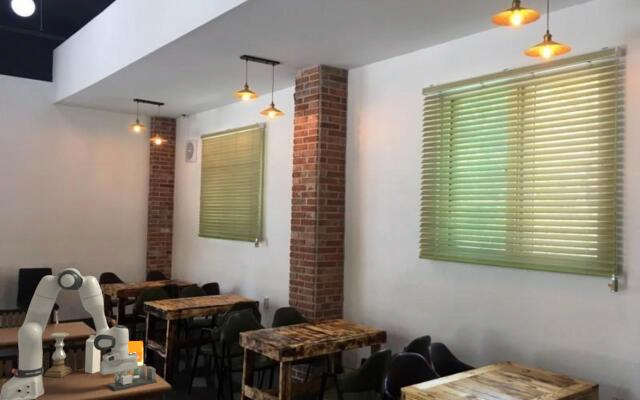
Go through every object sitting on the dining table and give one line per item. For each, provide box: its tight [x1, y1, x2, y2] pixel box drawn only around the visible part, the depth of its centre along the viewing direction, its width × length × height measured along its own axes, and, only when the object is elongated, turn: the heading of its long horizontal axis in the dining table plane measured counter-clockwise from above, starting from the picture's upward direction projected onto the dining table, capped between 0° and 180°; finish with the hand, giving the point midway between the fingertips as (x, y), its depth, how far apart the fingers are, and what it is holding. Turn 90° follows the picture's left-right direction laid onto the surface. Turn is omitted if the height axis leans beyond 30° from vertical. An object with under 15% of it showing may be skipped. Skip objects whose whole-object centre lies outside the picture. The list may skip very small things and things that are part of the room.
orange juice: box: [128, 340, 144, 366], centre depth 324 cm, size 8×9×20 cm
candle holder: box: [44, 331, 73, 378], centre depth 321 cm, size 11×11×24 cm
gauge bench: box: [107, 363, 158, 392], centre depth 306 cm, size 24×11×8 cm, turn 132°
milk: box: [84, 334, 102, 374], centre depth 328 cm, size 6×6×22 cm
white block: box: [120, 374, 139, 385], centre depth 305 cm, size 10×7×4 cm, turn 132°
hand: (119, 379), depth 300 cm, fingers closed
